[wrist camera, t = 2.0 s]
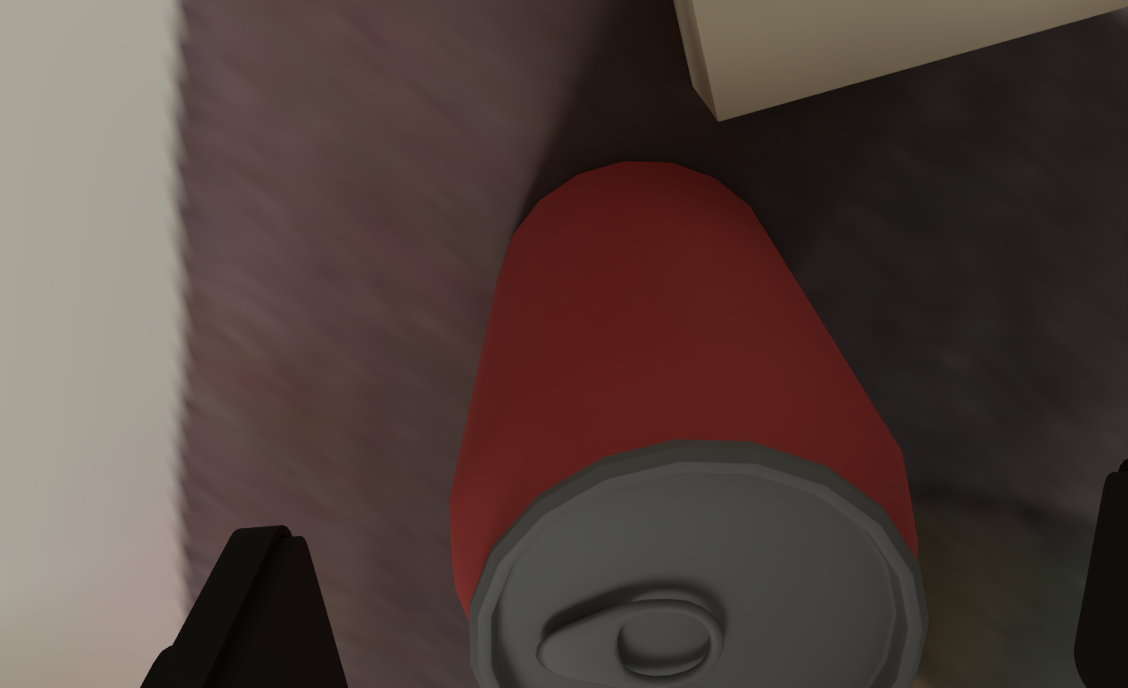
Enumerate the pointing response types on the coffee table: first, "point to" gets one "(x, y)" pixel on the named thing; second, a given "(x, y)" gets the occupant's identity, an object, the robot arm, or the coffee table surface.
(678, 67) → the coffee table surface
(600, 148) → the coffee table surface
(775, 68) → the birch block
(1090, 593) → the robot arm
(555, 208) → the beer can
